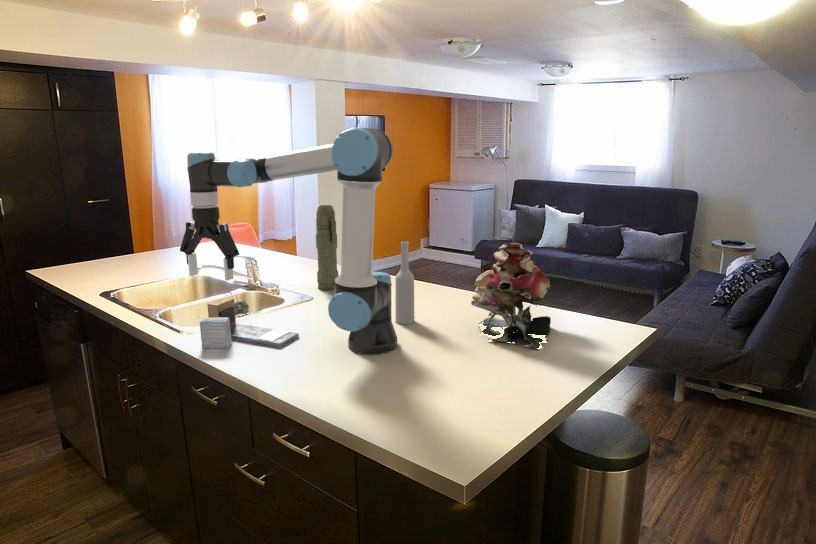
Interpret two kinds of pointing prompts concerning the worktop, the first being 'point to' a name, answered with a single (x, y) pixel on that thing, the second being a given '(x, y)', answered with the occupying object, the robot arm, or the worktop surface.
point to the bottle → (404, 290)
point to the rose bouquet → (512, 295)
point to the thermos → (326, 247)
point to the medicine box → (215, 332)
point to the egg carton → (241, 307)
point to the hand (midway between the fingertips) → (211, 277)
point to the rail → (249, 327)
